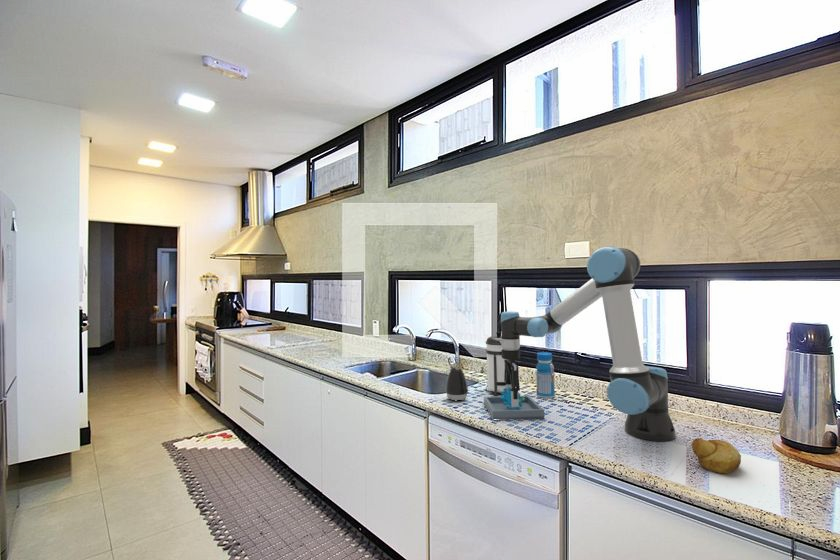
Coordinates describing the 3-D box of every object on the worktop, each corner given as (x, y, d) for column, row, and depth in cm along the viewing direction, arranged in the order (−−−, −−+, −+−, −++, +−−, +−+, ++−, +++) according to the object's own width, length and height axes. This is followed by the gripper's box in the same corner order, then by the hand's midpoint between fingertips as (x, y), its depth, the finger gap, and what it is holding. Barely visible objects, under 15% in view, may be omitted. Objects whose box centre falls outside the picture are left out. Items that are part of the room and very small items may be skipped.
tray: (544, 419, 152) (544, 409, 152) (493, 420, 152) (492, 411, 152) (529, 403, 172) (529, 395, 172) (484, 404, 172) (483, 396, 172)
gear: (504, 408, 156) (500, 385, 163) (497, 414, 160) (493, 391, 167) (528, 411, 159) (523, 388, 166) (521, 416, 163) (516, 394, 170)
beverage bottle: (541, 399, 178) (540, 355, 179) (533, 394, 187) (532, 352, 187) (558, 397, 180) (557, 354, 180) (549, 393, 188) (548, 351, 188)
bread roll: (713, 455, 117) (712, 428, 117) (752, 468, 108) (751, 439, 109) (688, 465, 111) (687, 437, 111) (728, 480, 103) (727, 449, 103)
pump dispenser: (462, 395, 187) (461, 363, 187) (471, 401, 177) (470, 367, 177) (442, 397, 184) (441, 365, 184) (451, 404, 174) (450, 369, 174)
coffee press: (478, 394, 188) (477, 332, 189) (492, 387, 201) (490, 328, 202) (512, 399, 178) (511, 334, 179) (525, 391, 191) (523, 330, 192)
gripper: (496, 345, 173) (497, 396, 173) (507, 353, 151) (509, 411, 151) (513, 344, 173) (514, 395, 173) (527, 352, 151) (528, 411, 151)
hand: (512, 403), depth 162 cm, fingers open, 9 cm apart
